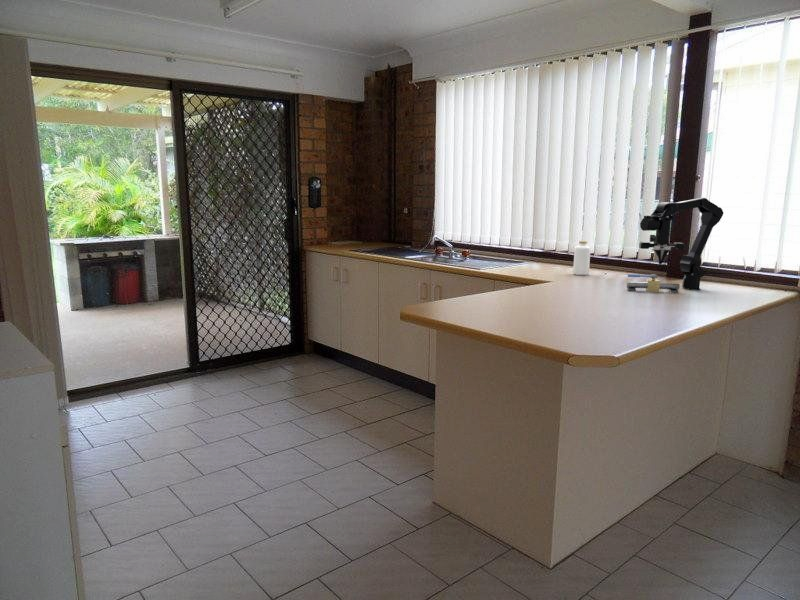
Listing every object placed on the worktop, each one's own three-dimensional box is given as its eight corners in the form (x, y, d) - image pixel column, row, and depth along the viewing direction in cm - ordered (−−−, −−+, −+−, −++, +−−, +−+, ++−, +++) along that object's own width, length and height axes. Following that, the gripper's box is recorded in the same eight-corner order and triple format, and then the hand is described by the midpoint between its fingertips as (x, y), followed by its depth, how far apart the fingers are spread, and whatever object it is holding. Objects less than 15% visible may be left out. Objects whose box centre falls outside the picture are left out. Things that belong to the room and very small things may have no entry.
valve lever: (656, 277, 260) (656, 274, 260) (657, 278, 257) (657, 275, 257) (627, 276, 263) (627, 273, 262) (628, 277, 260) (628, 274, 260)
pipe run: (677, 291, 260) (678, 278, 259) (679, 293, 255) (680, 279, 254) (626, 289, 265) (627, 276, 264) (627, 291, 260) (628, 277, 259)
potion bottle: (586, 273, 313) (589, 240, 309) (590, 275, 304) (592, 242, 301) (571, 273, 313) (573, 240, 310) (574, 275, 305) (576, 242, 302)
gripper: (681, 229, 263) (678, 262, 266) (638, 228, 268) (635, 261, 271) (687, 231, 252) (683, 266, 256) (642, 230, 257) (639, 264, 260)
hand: (660, 264), depth 261 cm, fingers closed
